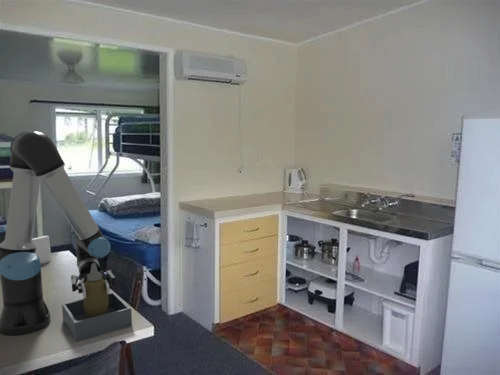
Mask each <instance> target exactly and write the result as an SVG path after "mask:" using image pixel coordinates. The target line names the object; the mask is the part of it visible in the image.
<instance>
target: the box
mask: <svg viewBox="0 0 500 375" xmlns="http://www.w3.org/2000/svg"><path fill="white" fill-rule="evenodd" d="M108 300H109V305H108V308H107V312H106V314H103V315H99V316H95V317H91V318H88V317H87V314H86V312H85V310H84V308H83V301H84V298H82V299H78V300H73V301H69V302H65V303H61V312H62V322H63V323H64V324H65V327H66V329H68V331H69V333H70V334H71V336H72V338H73V339H74V341H75V342H78V341H82V340H87V339H90V338H93V337H97V336H100V335H103V334H107V333H111V332H115V331H118V330H122V329H125V328H128V327H132V326H133V320H132V319H133V318H132V308H131V306H129V305H128V303H126V301H124V300H123V299H122V298H121V297H120V296H119V295H118V294H117V293H116V292H115V291H113V292H110V294H108Z"/></svg>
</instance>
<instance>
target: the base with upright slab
mask: <svg viewBox="0 0 500 375" xmlns="http://www.w3.org/2000/svg"><path fill="white" fill-rule="evenodd" d="M32 242H33V243H34V244H35V245H36V252H35V254H37V255H38V256H39V258H40V262H41V264H46V263H49V262H51V261H52V254H51V251H52V250H51V245H50V244H51V243H50V236H49V235H43V236H39V237H38V236H37V237H33V239H32Z"/></svg>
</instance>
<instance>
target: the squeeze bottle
mask: <svg viewBox="0 0 500 375" xmlns="http://www.w3.org/2000/svg"><path fill="white" fill-rule="evenodd" d="M84 285H85V289H86V298H83V299H84V301H83V308H84V310H85V312H86V314H87V317H88V318H91V317H95V316H99V315H103V314H106V312H107V308H108V305H109V300H108V294H107V292H106V285H105V280H104V279H103V278H102V273H101V272H98V270H97V267H96V264H95V263H92V265H91V271H90V273H89V274H87V281H86V282H85V283H84Z"/></svg>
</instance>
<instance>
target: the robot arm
mask: <svg viewBox="0 0 500 375" xmlns="http://www.w3.org/2000/svg"><path fill="white" fill-rule="evenodd" d="M9 145H10V146H9V150H10V151H9V152H10V161H9V162H10V163H9V168H10V170H11V171H12V172H13V174H12V175H13V176H12V182H11V183H12V184H11V191H10V197H9V206H8V212H7V220H6V227H5V236H4V240H3V241H1V243H0V286H1V295H2V305H3V306H2V309H1V310H2V311H1V313H0V333H1V334H2V335H7V336H8V335H9V336H17V335H25V334H29V333H33V332H35V331H36V332H37V331H39V330H40V329H43V328H45V327H46V326H47V325H49V324H50V323H51V312H50V310H49V308H48V306H47V305H46V302H45V300H44V294H43V293H44V292H43V282H42V279H43V278H42V263H41V262H40V258H39V256H38V255H37V254H35V252H36V245H35V244H34V243H33V242H32V239H33V238H34V229H35V222H36V221H35V220H36V216H37V208H38V200H39V193H40V188H41V187H40V186H41V180H42V181H43V183H44V184H45V187H46V188H47V189H48V191H49V193H50V194H51V195H52V197H53V199H54V200H55V202H56V204H57V205H58V207H59V208H60V210H61V211H62V213H63V215H64V216H65V218H66V219H67V221H68V223H69V225H70V226H71V228H72V230H73V231H74V236H75V237H74V238H75V246H76V248H75V249H76V266H77V270H78V273H79V274H78V275H75V274H72V275H71V276H70V281H71V290H72V292H74V293H75V292H76V291H77V293H78V294H82V296H83V298H82V299H84V298H86V289H85V285H84V283H85V282H86V281H87V274H89V273H90V271H91V265H92V263H95V264H96V267H97V270H98V272H101V273H102V278H103V279H104V280H105V285H106V292H107V294H110V293H111V291H110V290H111V289H112V286H115V285H117V284H116V283H117V281H116V276H115V275H114V274H113V272H112V270H111V269H108V270H107V271H105V272H104V270H102V267H101V265H100V263H99V259H102V258H104V257H107V255H109V253H110V252H111V243H110V241H109V240H108V238H106V237H105V236H104V235H103V233H102V232H101V230H100V228H99V226H98V225H97V222H96V221H95V219H94V217H93V216H92V214H91V213H90V212H91V211H89V209H88V207H87V206H86V204H85V202H84V200H83V199H82V197H81V195H80V194H79V192H78V190H77V189H76V187H75V185H74V184H73V181H72V180H71V178H70V176H69V175H68V173H67V171H66V169H65V165H66V164H65V162H64V160H63V158H62V156H61V154H60V153H59V150H58V149H57V146H56V145H55V143H54V141H53V140H52V139H51V137H49V135H47V134H46V133H44V132H41V131H36V130H35V131H33V130H32V131H23V132H19V133H18V134H17V135H15V136H14V137H13V138H12V140H11V142H10V144H9Z"/></svg>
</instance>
